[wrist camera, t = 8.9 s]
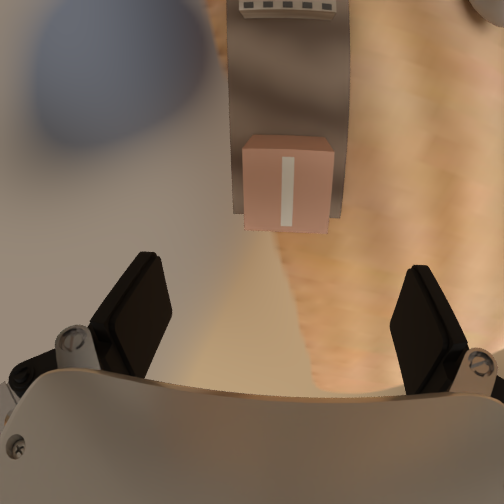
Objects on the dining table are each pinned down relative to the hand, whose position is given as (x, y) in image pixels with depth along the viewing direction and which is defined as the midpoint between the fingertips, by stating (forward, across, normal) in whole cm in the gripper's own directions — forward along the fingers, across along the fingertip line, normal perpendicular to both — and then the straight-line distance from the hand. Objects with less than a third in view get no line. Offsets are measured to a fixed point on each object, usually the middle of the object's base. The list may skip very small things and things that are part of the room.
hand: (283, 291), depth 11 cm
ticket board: (+18, 0, -13) cm, 22 cm away
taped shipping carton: (+17, 0, 0) cm, 17 cm away
